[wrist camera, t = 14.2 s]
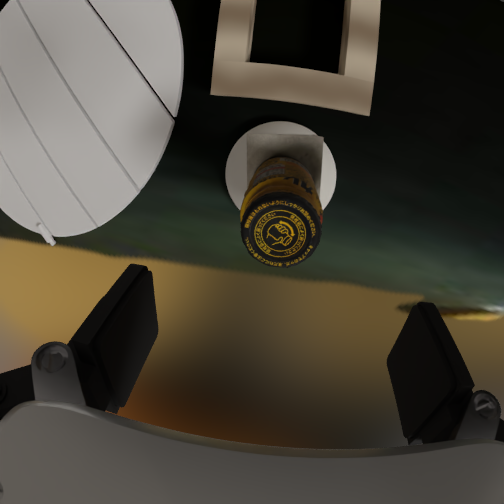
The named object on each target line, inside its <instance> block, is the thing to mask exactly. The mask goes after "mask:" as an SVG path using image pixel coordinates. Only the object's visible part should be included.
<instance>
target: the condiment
mask: <svg viewBox="0 0 504 504" xmlns="http://www.w3.org/2000/svg"><path fill="white" fill-rule="evenodd" d="M322 157H323V137H318V136H302V135H281V134H247V190H246V192H245V194H244V199H243V202H242V205H241V209H240V217H241V223H240V224H241V236H242V241H243V243H244V245H245V247H246V248H247V250H248V252H249V254H250V255H251V256H252V257H253V258H255V259H256V260H257V261H259V262H261V263H263V264H265V265H268V266H272V267H282V268H284V267H286V268H288V267H291V266H294V265H297V264H299V263H301V262H303V261H304V260H306V259H307V258H309V257H310V256H311V255H312V254H313V252H314V251H315V249H316V248H317V246H318V244H319V242H320V237H321V232H322V231H321V228H322V225H321V224H322V215H323V210H322V205H321V202H320V186H321V173H322Z"/></svg>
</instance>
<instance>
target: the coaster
mask: <svg viewBox="0 0 504 504" xmlns="http://www.w3.org/2000/svg"><path fill="white" fill-rule="evenodd" d="M247 134H281V135H302V136H318V135H316V134H315V133H314V132H313V131H311V130H310V129H308V128H306V127H304V126H302V125H299V124H296V123H292V122H287V121H273V122H268V123H264V124H261V125H258V126H256V127H254V128H252V129H251V130H250V131H248V132H247V133H245V134H244V135H243V136H242V137H241V138H240V139H239V140H238V141H237V142H236V144H235V145H234V147H233V148H232V150H231V152H230V154H229V157H228V160H227V164H226V184H227V188H228V192H229V194H230V196H231V198H232V200H233V202H234V203H235V205H236V206H237V207H238V209H239V210H240V209H241V205H242V202H243V199H244V194H245V192H246V190H247ZM318 137H319V136H318ZM335 184H336V167H335V163H334V159H333V156H332V154H331V152H330V150H329V148H328V147H327V145H326V144H325V143H324V142H323V157H322V173H321V186H320V202H321V205H322V210H323V209H324V208H325V207H326V205H327V204H328V202H329V201H330V199H331V197H332V194H333V192H334V188H335Z"/></svg>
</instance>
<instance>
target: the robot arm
mask: <svg viewBox="0 0 504 504" xmlns="http://www.w3.org/2000/svg"><path fill="white" fill-rule="evenodd" d="M501 1H503V2H504V0H501ZM157 335H158V321H157V314H156V305H155V296H154V286H153V276H152V272H151V271H148V268H147V266H143V265H137V264H130V265H129V266H128V267H127V269H126V270H125V271H124V272H123V273H122V275H121V276H120V277H119V278H118V280H117V281H116V282H115V283H114V285H113V286H112V287H111V288H110V290H109V291H108V292H107V294H106V295H105V296H104V297H103V298H102V299H101V300H100V301H99V302H98V303H97V305H96V306H95V307H94V309H93V310H92V312H91V313H90V314H89V315H88V317H87V318H86V319H85V321H84V322H83V323H82V325H81V326H80V328H79V329H78V330H77V332H76V333H75V334H74V336H73V337H72V338H71V340H70V341H69V343H68V344H67V345H66V344H64V343H62V342H49V343H46V344H43V345H42V346H41V347H39V348H38V349H37V350H36V351H35V352H34V354H33V357H32V360H31V364H30V365H27V366H24V367H21V368H17V369H14V370H11V371H7V372H4V373H1V374H0V504H504V421H503V420H502V419H501V418H500V416H501V407H500V404H499V402H498V400H497V399H496V397H495V396H494V395H492V394H491V393H490V392H487V391H485V390H479V391H476V392H474V393H473V391H472V388H473V387H474V386H475V385H474V382H473V380H472V378H471V376H470V373H469V371H468V369H467V367H466V365H465V362H464V360H463V358H462V356H461V354H460V352H459V350H458V348H457V346H456V344H455V342H454V340H453V338H452V336H451V334H450V332H449V330H448V328H447V326H446V325H445V323H444V321H443V319H442V317H441V315H440V313H439V311H438V310H437V308H436V306H435V305H434V303H428V302H419V303H417V305H415V306H413V307H412V309H411V311H410V314H409V316H408V318H407V320H406V322H405V324H404V326H403V329H402V330H401V332H400V334H399V336H398V338H397V340H396V342H395V344H394V346H393V348H392V350H391V352H390V354H389V355H388V358H387V367H388V371H389V375H390V379H391V383H392V386H393V391H394V394H395V399H396V403H397V407H398V411H399V416H400V420H401V425H402V430H403V435H404V437H405V438H407V439H408V445H411V446H402V447H390V448H375V449H343V450H342V449H341V450H340V449H337V450H336V449H333V450H332V449H301V448H284V447H273V446H262V445H254V444H246V443H238V442H232V441H225V440H218V439H213V438H207V437H202V436H197V435H192V434H187V433H183V432H178V431H174V430H170V429H166V428H162V427H158V426H154V425H150V424H146V423H142V422H138V421H135V420H131V419H128V418H124V417H121V416H118V415H114V414H111V413H108V412H105V411H106V410H107V411H109V412H112V413H115V414H117V412H118V410H119V407H124V406H125V404H126V402H127V400H128V398H129V396H130V393H131V391H132V389H133V387H134V385H135V382H136V380H137V378H138V376H139V374H140V372H141V369H142V367H143V365H144V363H145V361H146V358H147V356H148V355H149V352H150V350H151V348H152V346H153V344H154V342H155V340H156V338H157ZM421 443H423V444H421ZM417 444H421V445H417Z"/></svg>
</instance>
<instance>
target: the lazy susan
mask: <svg viewBox="0 0 504 504" xmlns="http://www.w3.org/2000/svg"><path fill="white" fill-rule="evenodd" d="M89 1H90V3H91V4H92V5H93V7H94V8H95V9H96V11H97V12H98V13H99V15H100V16H101V17H102V19H103V20H104V21H105V23H106V24H107V26H108V27H109V28H110V30H111V31H112V32H113V34H114V35H115V36H116V38H117V39H118V41H119V42H120V43H121V45H122V46H123V47H124V49H125V50H126V51H127V53H128V54H129V56H130V57H131V58H132V60H133V61H134V62H135V64H136V65H137V67H138V68H139V69H140V71H141V72H142V73H143V75H144V76H145V78H146V79H147V80H148V82H149V83H150V85H151V86H152V87H153V89H154V90H155V92H156V93H157V94H158V96H159V97H160V98H161V100H162V101H163V103H164V104H165V105H166V107H167V108H168V110H169V111H170V112H171V114H172V115H173V117H176V116H177V113H178V108H179V104H180V98H181V92H182V84H183V72H184V53H183V42H182V35H181V30H180V25H179V22H178V18H177V15H176V12H175V10H174V7H173V5H172V3H171V1H170V0H89ZM174 123H175V121H174V120H173V118H172V117H171V115H170V114H169V113H168V111H167V110H166V108H165V107H164V106H163V104H162V103H161V101H160V100H159V99H158V97H157V96H156V94H155V93H154V92H153V90H152V89H151V87H150V86H149V85H148V83H147V82H146V81H145V79H144V78H143V76H142V75H141V74H140V72H139V71H138V69H137V68H136V67H135V65H134V64H133V63H132V61H131V60H130V58H129V57H128V56H127V54H126V53H125V51H124V50H123V49H122V47H121V46H120V45H119V43H118V42H117V40H116V39H115V38H114V36H113V35H112V34H111V32H110V31H109V30H108V28H107V27H106V25H105V24H104V23H103V21H102V20H101V19H100V17H99V16H98V15H97V13H96V12H95V11H94V9H93V8H92V6H91V5H90V4H89V2H88V1H87V0H10V1H9V2H8V3H7V4H6V6H5V7H4V8H3V9H2V11H1V12H0V208H1V209H2V210H3V211H4V212H5V213H6V214H7V215H8V216H9V217H10V218H12V219H13V220H14V221H16V222H17V223H19V224H20V225H22V226H24V227H25V228H27V229H29V230H32V231H34V232H37V233H40V234H41V235H42V236H43V237H44V239H45V240H46V242H47V243H50V244H51V245H52V246H53V245H54V244H55V243H56V241H55V240H54V239H53V237H52V235H53V236H58V237H64V236H73V235H78V234H82V233H85V232H88V231H91V230H93V229H95V228H97V227H98V226H101V225H103V224H104V223H106V222H108V221H109V220H110V219H112V218H113V217H114V216H116V215H117V214H118V213H119V212H121V211H122V210H123V209H124V208H125V207H126V206H127V205H128V204H129V203H130V202H131V201H132V200H133V199H134V198H135V197H136V196H137V195H138V193H139V192H140V191H141V190H140V189H142V188H143V187H144V186H145V184H146V183H147V181H148V180H149V178H150V177H151V175H152V173H153V172H154V170H155V168H156V167H157V165H158V163H159V161H160V159H161V157H162V155H163V153H164V151H165V148H166V146H167V144H168V141H169V138H170V136H171V133H172V130H173V127H174Z"/></svg>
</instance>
